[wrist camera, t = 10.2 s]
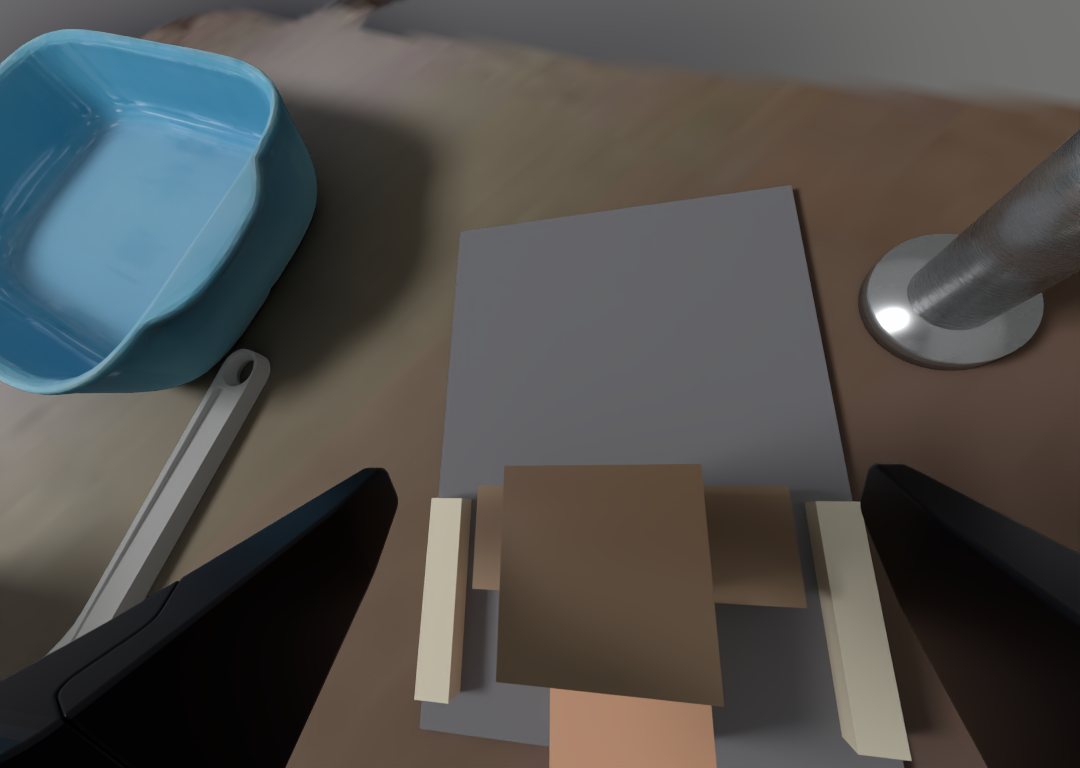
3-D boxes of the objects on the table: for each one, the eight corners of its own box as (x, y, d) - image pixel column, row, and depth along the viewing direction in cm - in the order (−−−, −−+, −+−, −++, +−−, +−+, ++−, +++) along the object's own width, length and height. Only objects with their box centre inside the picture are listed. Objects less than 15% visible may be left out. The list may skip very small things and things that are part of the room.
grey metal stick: (1056, 296, 18) (1763, -74, 7) (963, 399, 17) (1538, 193, 6) (913, 224, 20) (1261, -146, 9) (828, 314, 20) (1077, 49, 8)
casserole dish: (-38, 290, 37) (-188, 241, 30) (116, 93, 41) (13, 10, 34) (231, 475, 25) (81, 461, 18) (414, 172, 29) (345, 68, 22)
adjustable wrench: (255, 350, 28) (231, 340, 26) (325, 387, 25) (303, 379, 24) (1, 743, 23) (-47, 760, 22) (60, 827, 21) (11, 853, 20)
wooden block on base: (783, 595, 17) (1080, 764, 5) (492, 579, 19) (284, 671, 8) (769, 489, 18) (987, 448, 7) (497, 488, 20) (318, 458, 9)
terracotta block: (702, 739, 16) (720, 808, 12) (569, 722, 17) (549, 781, 13) (690, 591, 17) (703, 613, 14) (569, 585, 18) (550, 603, 15)
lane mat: (902, 789, 14) (932, 821, 13) (423, 724, 18) (405, 742, 17) (788, 190, 22) (799, 167, 20) (463, 235, 26) (451, 218, 24)
